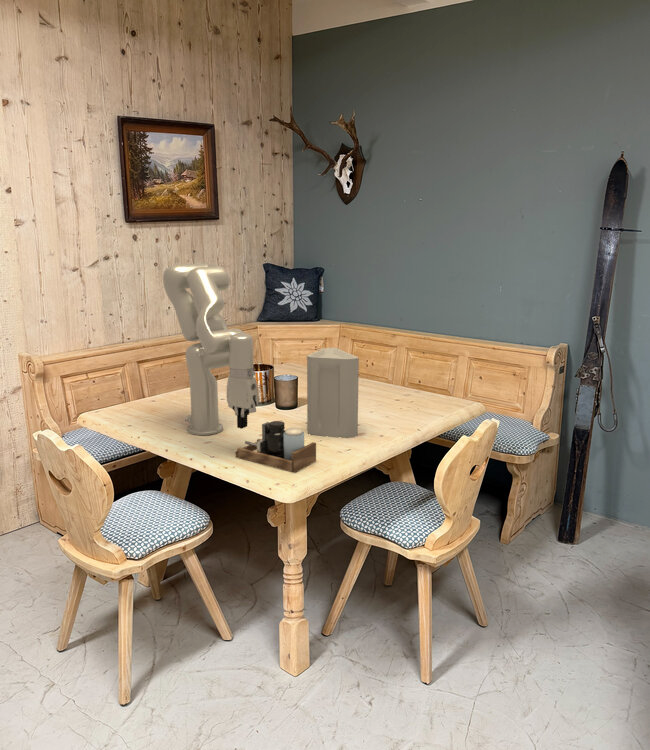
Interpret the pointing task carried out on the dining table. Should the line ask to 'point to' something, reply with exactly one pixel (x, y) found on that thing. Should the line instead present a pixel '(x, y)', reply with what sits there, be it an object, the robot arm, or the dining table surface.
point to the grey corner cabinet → (332, 393)
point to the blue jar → (292, 441)
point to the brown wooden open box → (298, 462)
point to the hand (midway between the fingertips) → (242, 427)
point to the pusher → (262, 443)
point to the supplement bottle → (275, 439)
